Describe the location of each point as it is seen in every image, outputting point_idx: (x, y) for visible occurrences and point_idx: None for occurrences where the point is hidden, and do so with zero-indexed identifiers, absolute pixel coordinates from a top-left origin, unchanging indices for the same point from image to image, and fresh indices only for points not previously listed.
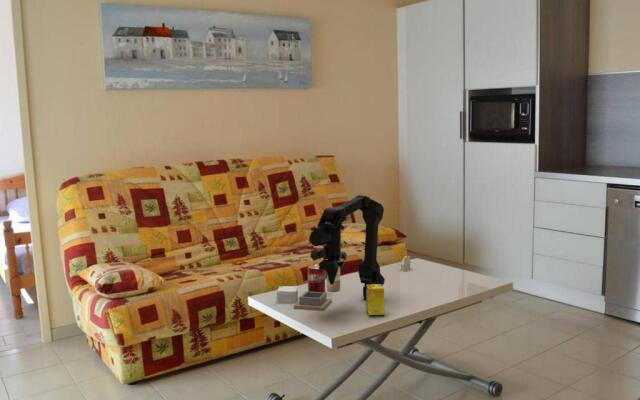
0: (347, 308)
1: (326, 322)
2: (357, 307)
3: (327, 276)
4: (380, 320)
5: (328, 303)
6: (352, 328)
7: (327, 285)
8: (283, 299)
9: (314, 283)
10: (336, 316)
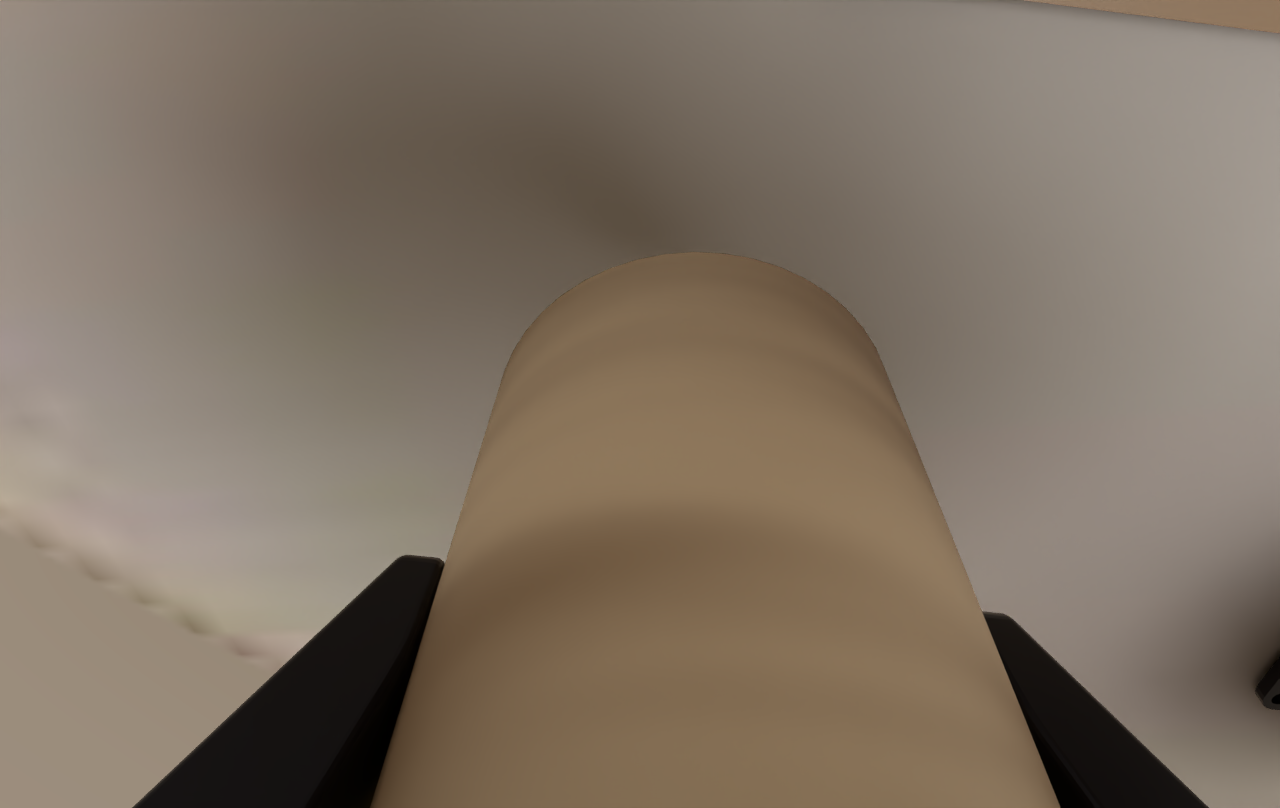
0: (955, 371)
1: (172, 137)
2: (996, 492)
3: (496, 701)
4: None
5: (1212, 21)
6: (103, 503)
7: (563, 384)
8: None
9: None
10: (523, 256)
